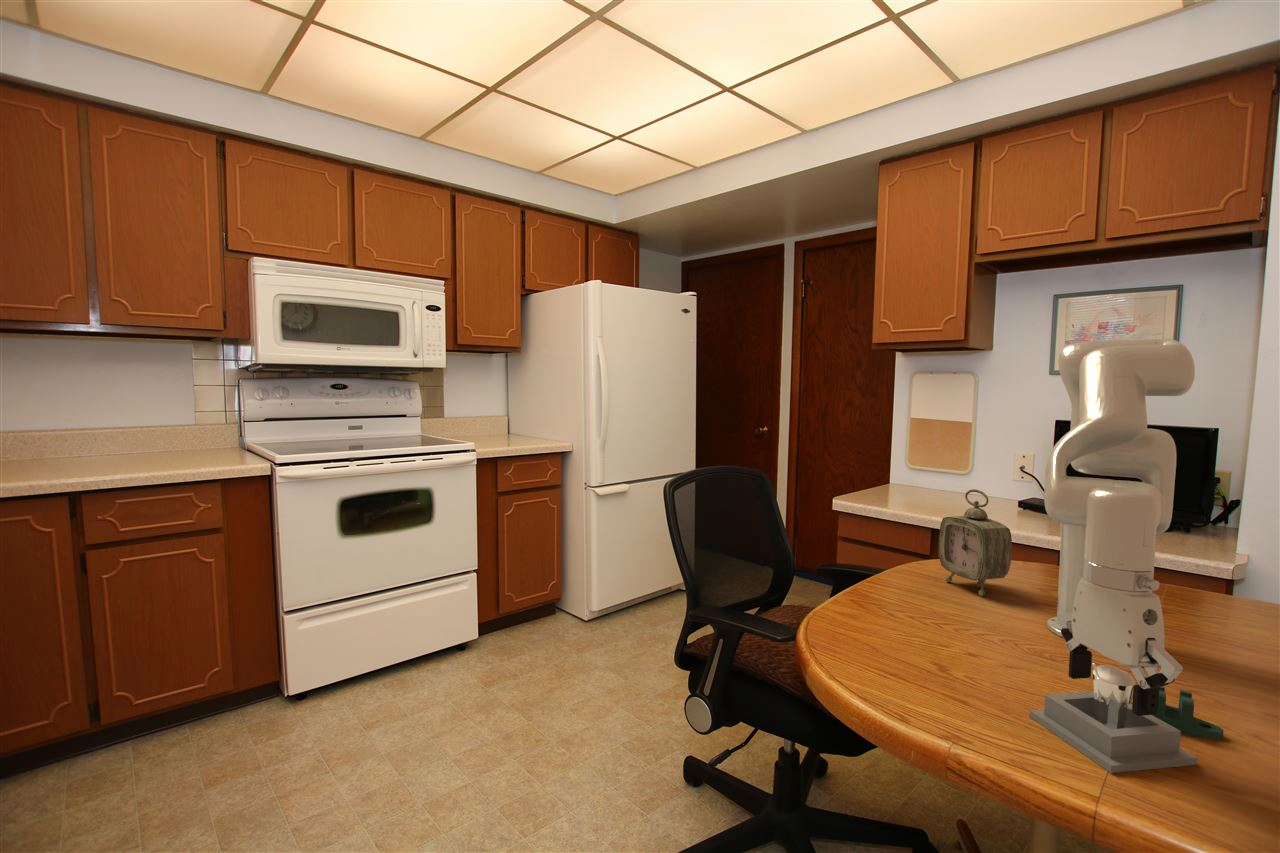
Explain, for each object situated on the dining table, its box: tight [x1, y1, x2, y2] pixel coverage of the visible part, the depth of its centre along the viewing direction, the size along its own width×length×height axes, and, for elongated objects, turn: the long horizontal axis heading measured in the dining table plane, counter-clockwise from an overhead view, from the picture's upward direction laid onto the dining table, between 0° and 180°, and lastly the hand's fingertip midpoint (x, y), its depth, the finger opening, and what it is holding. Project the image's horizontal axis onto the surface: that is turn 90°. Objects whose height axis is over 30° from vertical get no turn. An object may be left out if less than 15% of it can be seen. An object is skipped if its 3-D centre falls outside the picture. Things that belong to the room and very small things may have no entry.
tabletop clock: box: [938, 488, 1013, 597], centre depth 144 cm, size 14×9×25 cm, turn 14°
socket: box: [1029, 690, 1198, 774], centre depth 82 cm, size 13×13×4 cm
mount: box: [1130, 686, 1224, 741], centre depth 86 cm, size 11×4×5 cm, turn 51°
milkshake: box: [1091, 662, 1135, 729], centre depth 82 cm, size 4×5×10 cm
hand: (1110, 694), depth 82 cm, fingers open, 9 cm apart
